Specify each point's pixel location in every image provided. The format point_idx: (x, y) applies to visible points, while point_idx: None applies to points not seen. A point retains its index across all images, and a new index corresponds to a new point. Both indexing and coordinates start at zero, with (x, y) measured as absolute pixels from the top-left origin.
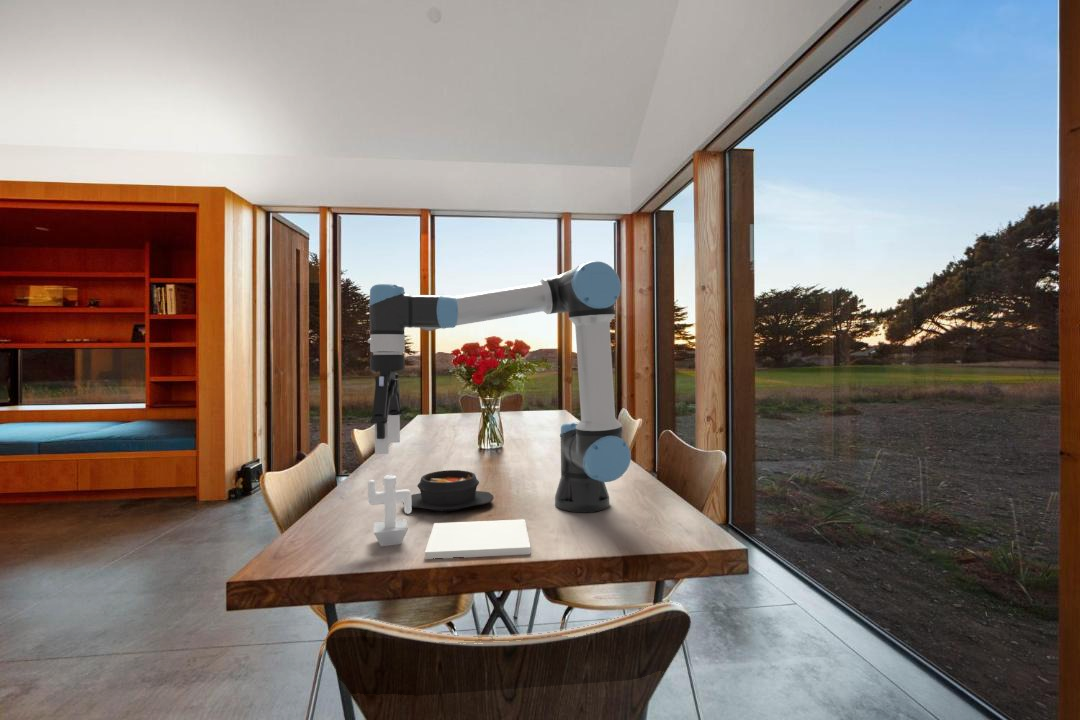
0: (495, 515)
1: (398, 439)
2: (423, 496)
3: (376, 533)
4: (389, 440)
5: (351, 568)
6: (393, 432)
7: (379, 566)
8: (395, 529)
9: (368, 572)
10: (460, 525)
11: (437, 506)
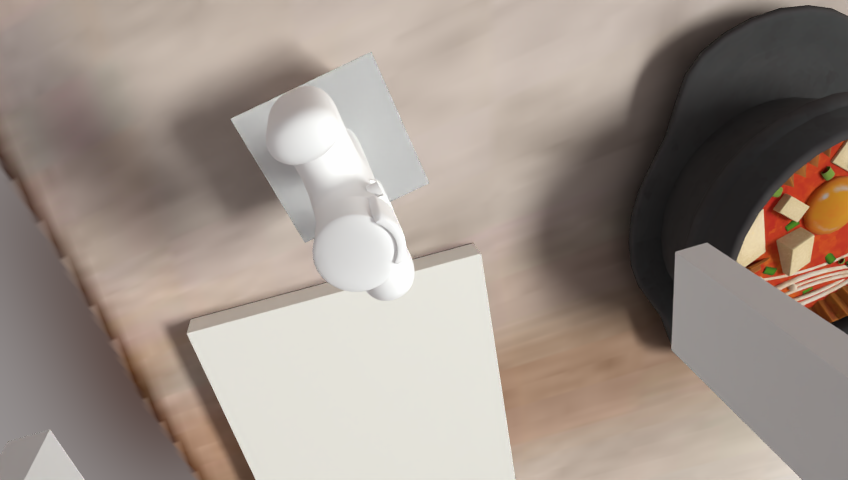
0: (605, 379)
1: (690, 363)
2: (731, 138)
3: (237, 128)
4: (688, 280)
5: (27, 98)
6: (752, 371)
7: (85, 198)
8: (293, 194)
9: (18, 183)
10: (458, 346)
11: (658, 204)
